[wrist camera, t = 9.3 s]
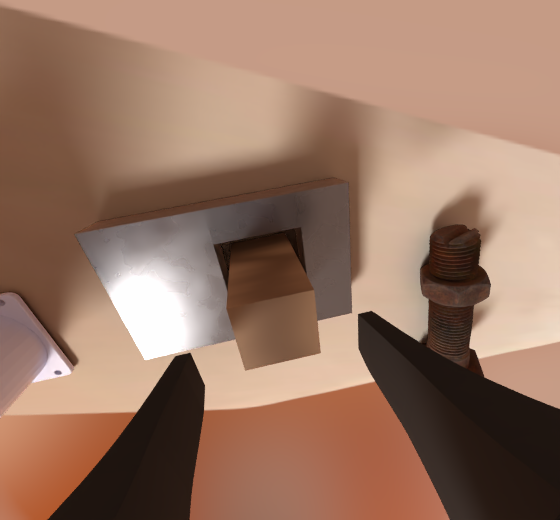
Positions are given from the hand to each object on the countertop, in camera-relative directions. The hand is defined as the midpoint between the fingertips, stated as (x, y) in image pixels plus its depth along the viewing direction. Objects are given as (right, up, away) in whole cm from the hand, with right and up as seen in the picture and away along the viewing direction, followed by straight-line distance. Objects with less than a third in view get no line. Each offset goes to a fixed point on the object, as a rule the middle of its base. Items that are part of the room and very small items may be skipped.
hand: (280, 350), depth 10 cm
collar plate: (-3, +4, +8) cm, 9 cm away
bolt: (+15, +1, +13) cm, 20 cm away
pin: (-1, +4, +8) cm, 9 cm away
